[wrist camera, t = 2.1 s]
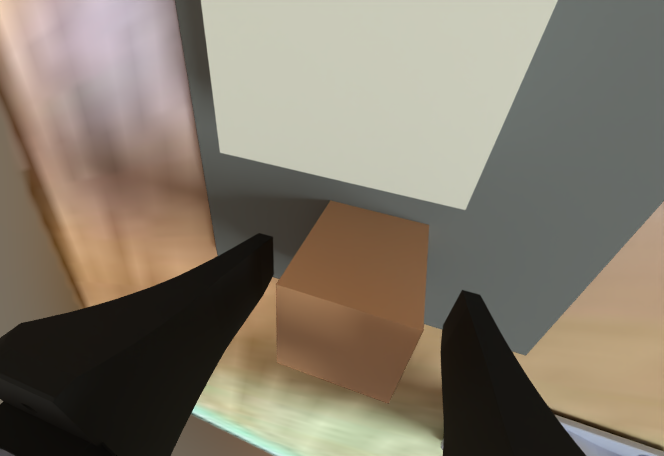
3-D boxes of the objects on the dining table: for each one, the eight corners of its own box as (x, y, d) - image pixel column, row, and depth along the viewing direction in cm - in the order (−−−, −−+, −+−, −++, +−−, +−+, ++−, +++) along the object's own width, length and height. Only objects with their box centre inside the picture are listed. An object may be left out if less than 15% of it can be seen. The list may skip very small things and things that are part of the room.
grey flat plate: (934, -154, 5) (1005, -181, 4) (521, 340, 14) (526, 355, 13) (168, -163, 8) (144, -180, 7) (226, 251, 17) (218, 260, 16)
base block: (560, -133, 6) (699, -323, 3) (456, 150, 9) (465, 209, 6) (289, -140, 7) (165, -281, 4) (286, 116, 11) (220, 152, 7)
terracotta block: (429, 225, 11) (423, 330, 7) (403, 294, 14) (388, 403, 10) (330, 200, 12) (276, 284, 8) (322, 270, 14) (277, 362, 10)
